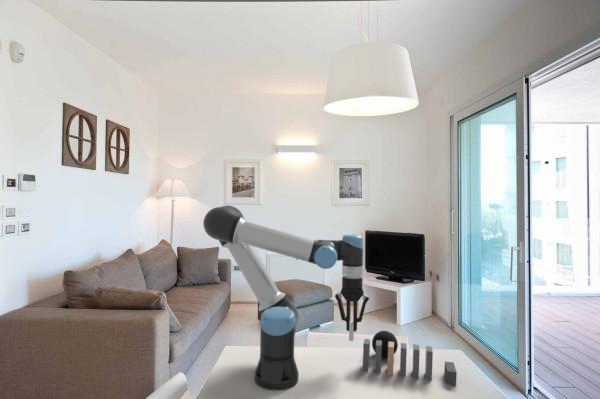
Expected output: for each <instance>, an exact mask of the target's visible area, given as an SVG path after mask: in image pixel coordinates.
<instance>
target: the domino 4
mask: <svg viewBox="0 0 600 399" xmlns="http://www.w3.org/2000/svg"><path fill="white" fill-rule="evenodd" d="M407 346H408V344H407V343H405V342H400V353H399V354H400V356H399V357H400V359H399V362H400V363H399V367H400V368H399V376H400V377H407V376H406V375H407V354H408V353H407Z"/></svg>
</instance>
